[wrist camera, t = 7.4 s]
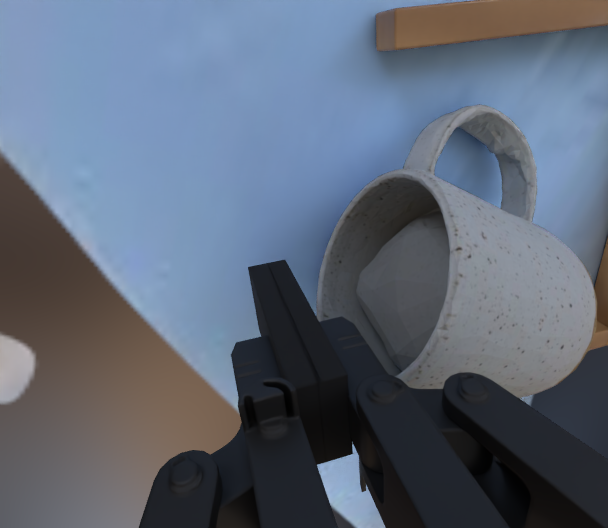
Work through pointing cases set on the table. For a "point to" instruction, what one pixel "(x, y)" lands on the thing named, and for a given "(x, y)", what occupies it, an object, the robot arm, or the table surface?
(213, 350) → the table surface
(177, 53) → the table surface
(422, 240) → the ceramic mug
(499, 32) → the oak frame
